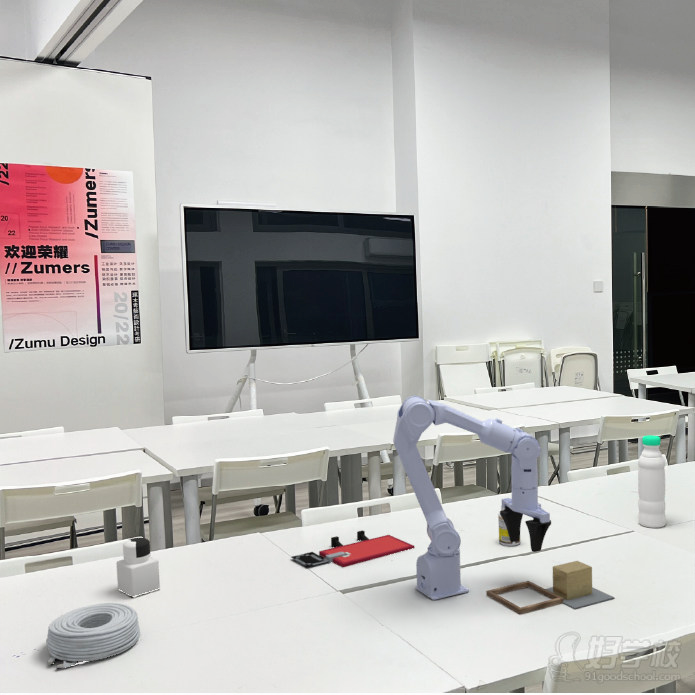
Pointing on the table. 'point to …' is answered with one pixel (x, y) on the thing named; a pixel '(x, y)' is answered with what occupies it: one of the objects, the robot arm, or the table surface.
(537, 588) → the wooden frame
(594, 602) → the mat
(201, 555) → the table surface
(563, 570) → the tan box
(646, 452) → the water bottle
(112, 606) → the cable
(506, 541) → the supplement bottle
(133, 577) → the medicine bottle
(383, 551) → the red board with handle
